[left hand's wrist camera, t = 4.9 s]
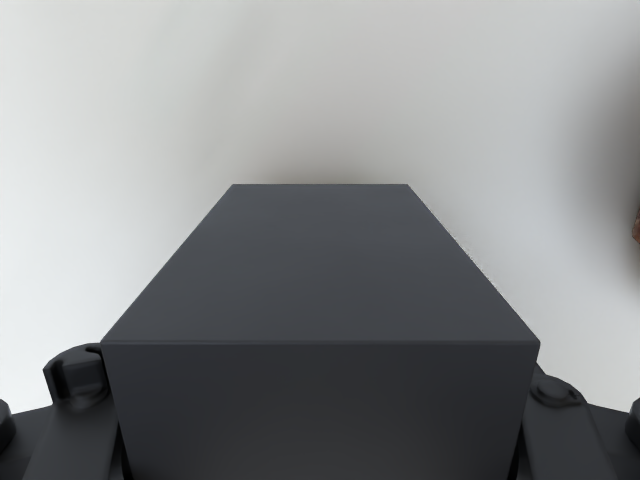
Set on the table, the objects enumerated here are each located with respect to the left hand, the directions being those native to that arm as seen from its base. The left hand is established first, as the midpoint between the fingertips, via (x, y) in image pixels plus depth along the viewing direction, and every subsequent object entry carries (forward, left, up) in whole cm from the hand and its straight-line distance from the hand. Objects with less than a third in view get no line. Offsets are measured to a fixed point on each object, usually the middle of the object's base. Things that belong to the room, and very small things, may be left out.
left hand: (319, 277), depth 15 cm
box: (+8, 0, -1) cm, 9 cm away
